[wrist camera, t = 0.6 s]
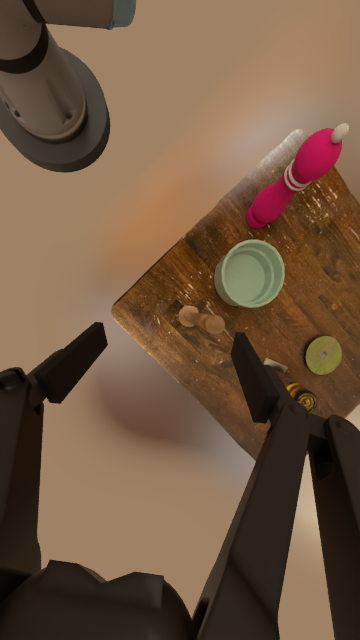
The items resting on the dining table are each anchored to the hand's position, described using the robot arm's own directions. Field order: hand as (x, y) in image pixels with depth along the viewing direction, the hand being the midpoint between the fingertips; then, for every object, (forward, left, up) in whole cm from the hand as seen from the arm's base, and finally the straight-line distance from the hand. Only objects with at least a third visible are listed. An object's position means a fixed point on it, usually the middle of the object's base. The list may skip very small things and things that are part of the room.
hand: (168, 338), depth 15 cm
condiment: (+18, +29, -25) cm, 42 cm away
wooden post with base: (-1, +6, -25) cm, 26 cm away
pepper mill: (-26, +26, -25) cm, 44 cm away
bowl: (-10, +21, -25) cm, 34 cm away
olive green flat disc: (+13, +44, -25) cm, 52 cm away
